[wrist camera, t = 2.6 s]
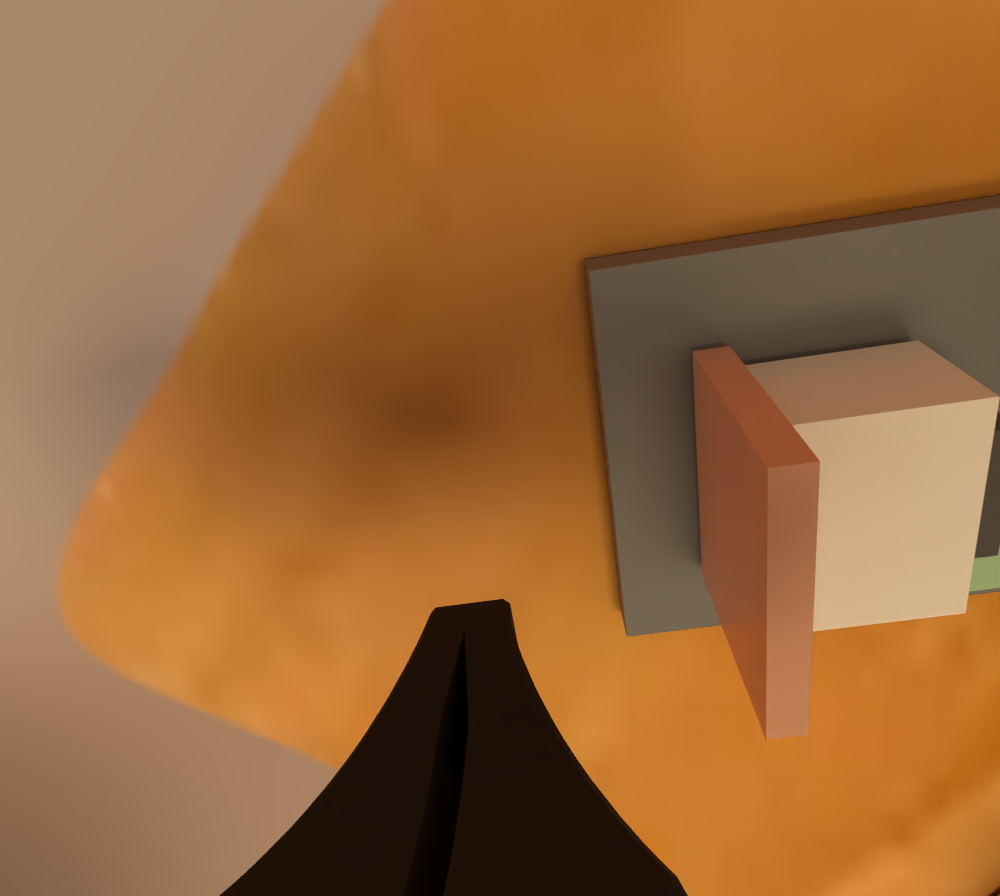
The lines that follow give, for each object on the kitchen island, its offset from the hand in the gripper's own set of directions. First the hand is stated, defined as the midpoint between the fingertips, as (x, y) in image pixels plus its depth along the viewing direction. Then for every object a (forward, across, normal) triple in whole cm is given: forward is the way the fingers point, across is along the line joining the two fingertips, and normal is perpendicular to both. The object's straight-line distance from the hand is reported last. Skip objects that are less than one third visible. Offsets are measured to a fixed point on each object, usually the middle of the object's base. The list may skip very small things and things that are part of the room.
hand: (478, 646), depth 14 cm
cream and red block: (+5, -8, +1) cm, 9 cm away
